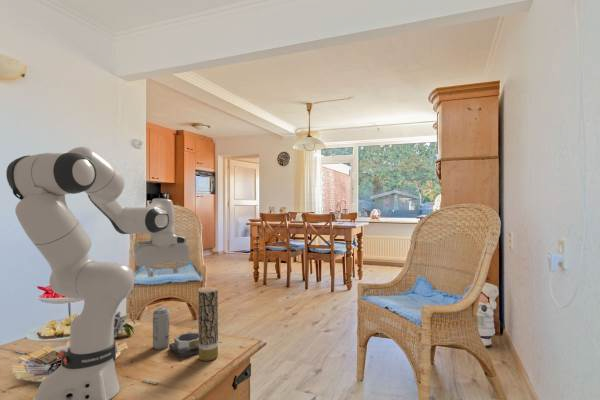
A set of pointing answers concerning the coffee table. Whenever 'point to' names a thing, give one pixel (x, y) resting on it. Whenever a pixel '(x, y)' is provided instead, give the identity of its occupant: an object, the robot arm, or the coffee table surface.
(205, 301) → the bark patterned cylinder
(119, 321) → the passion flower
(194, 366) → the coffee table surface
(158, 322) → the energy drink can
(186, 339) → the can mount
